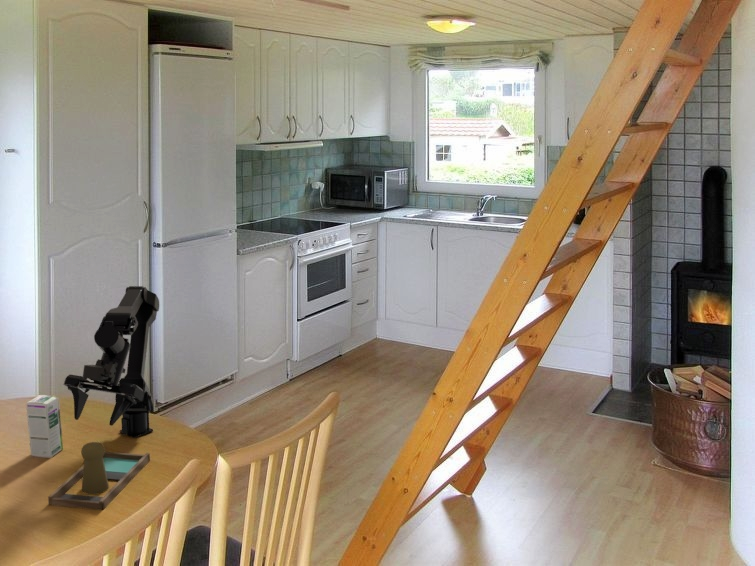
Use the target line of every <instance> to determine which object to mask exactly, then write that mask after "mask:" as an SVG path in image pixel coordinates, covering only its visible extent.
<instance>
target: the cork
mask: <svg viewBox="0 0 755 566" xmlns="http://www.w3.org/2000/svg"><path fill="white" fill-rule="evenodd" d="M105 452H106V449H105V446H104V444H103V443H102V442H98V441H92V442H88V443H85V444H83V446H82V447H81V451H80V453H81V457H82V458H83V465H84V468H83V477H82V482H81V483H82V484H81V491H82V493H83V494H87V495H98V494H101V493H102V494H103V493H105V492H106V491H108V489H109V488H110V486H109V480H107V475H106V470H105V465H104V460H103V456H104V453H105Z"/></svg>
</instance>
